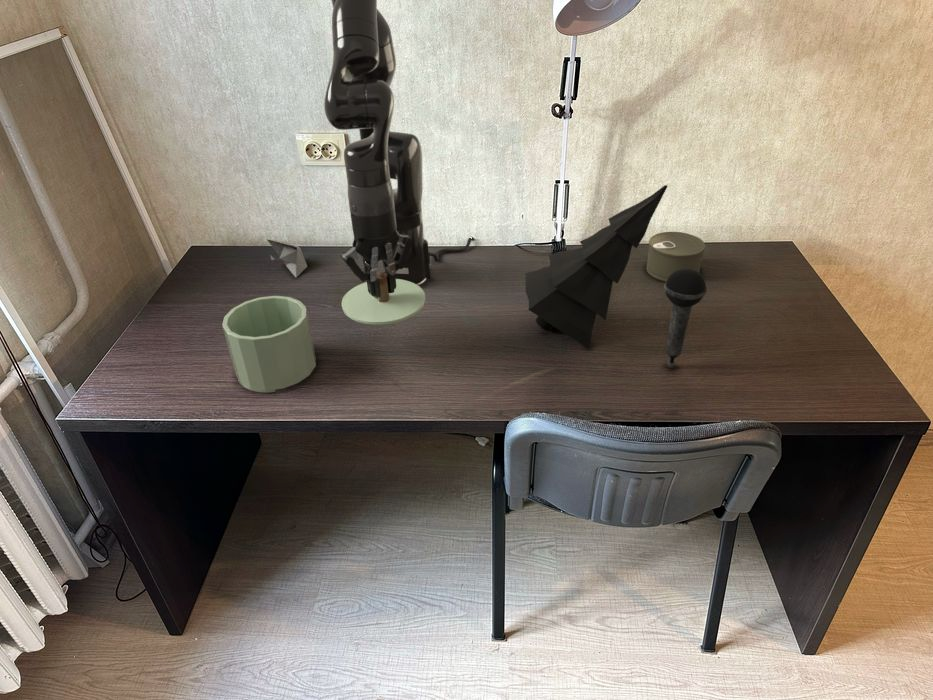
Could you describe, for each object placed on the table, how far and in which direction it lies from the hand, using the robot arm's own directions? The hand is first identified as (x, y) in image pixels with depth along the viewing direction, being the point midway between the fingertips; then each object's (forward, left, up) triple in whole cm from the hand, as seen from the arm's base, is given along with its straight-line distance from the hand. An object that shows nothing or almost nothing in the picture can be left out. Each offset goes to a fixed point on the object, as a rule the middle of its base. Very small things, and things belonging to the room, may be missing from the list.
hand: (382, 293), depth 123 cm
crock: (+20, -6, -12) cm, 24 cm away
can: (-68, +9, -12) cm, 69 cm away
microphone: (-40, +35, -12) cm, 54 cm away
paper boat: (+4, -44, -12) cm, 46 cm away
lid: (0, 0, -2) cm, 2 cm away
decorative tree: (-36, +16, -12) cm, 41 cm away
